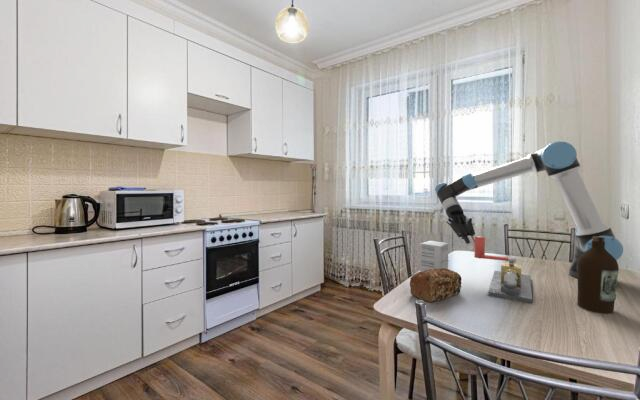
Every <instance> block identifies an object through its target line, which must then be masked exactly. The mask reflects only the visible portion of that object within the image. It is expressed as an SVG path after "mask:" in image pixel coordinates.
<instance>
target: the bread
mask: <svg viewBox="0 0 640 400" xmlns="http://www.w3.org/2000/svg"><path fill="white" fill-rule="evenodd" d="M409 287H410V295H411V296H413V297H414V296H415V298H417V297H418V298H417V299H419V298H421V299H420V300H422V301H424V302H427V303H434V302H435V301H442V300H444V299H449V298H451V297H454V296H456V295H459V294H460V293H461V290H462V289H461V288H462V276H461V274H460V273H458V272H456V271H454V270H451V269H449V268H448V269H445V268H443V269H437V268H436V269H435V268H434V269H429V270H425V271H423V272H420V271H418V272H416V273H415V274H412V275H411V276H410V281H409Z"/></svg>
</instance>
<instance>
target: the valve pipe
mask: <svg viewBox="0 0 640 400" xmlns="http://www.w3.org/2000/svg"><path fill="white" fill-rule="evenodd" d="M500 266H501V267H500V271H499V270H494V272H493V276H492V279H491V281H490V285H489V289H488V293H487V295H488V296H489V297H495V298H502V299H507V300H512V301H517V302H524V303H529V304H532V303H533V294H532V293H533V292H532V283H531V282H532V281H531V275H530V274H523V273H522V264H518V263H517V261H516V262H510V261H506V262H504V261H503V262H501V265H500Z"/></svg>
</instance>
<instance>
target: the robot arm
mask: <svg viewBox="0 0 640 400" xmlns="http://www.w3.org/2000/svg"><path fill="white" fill-rule="evenodd" d="M577 156H578V155H577V149H576V148H575V147H574V145H572V144H571V143H569V142H566V141H554V142H550V143H549V144H547V145H545V146H544V147H543V148H541V149H540V150H537V151H535V152H532V153H529V154H528V155H527V156H526V157H523V158H520V159H517V160H514V161H511V162H508V163H504V164H502V165H499V166H495V167H491V168H488V169H485V170H483V171H479V172H477V173H473V174H472V173H471V172H466V173H465V174H463V175H461V176H460V177H458V178H456V179H455V180H453V181H452V182H449V183H448V182H446V181H443V182H440V183H437V184H436V185H435V188H434V191H435V193H436V196H437V198H438V200H439V202H440V204H441V206H442V207H443V209H444V211H445V215H446V217H448V219H447V220H446V224H448V225H449V226H450V228H451V229H452V230H453V232H454V233H455V234H456V235H457V237H458V238H461V240H464V242H465V244H466V245H467V246H468V248H469V250H470V251H471V252H475V234H476V232H475V229H474V224H473V219H472V218H471V217H469V218H468V217H467V216H466V215H465V214H464V210H463V207H462V206H461V204H460V203H459V201H458V199H457V197H459V196H460V195H462V194H464V193H465V192H468V191H472V190H476V189H478V188H481V187H484V186H485V187H486V186H489V185H492V184H494V183H498V182H501V181H505V180H509V179H511V178H512V179H513V178H515V177H519V176H522V175H525V174H528V173H532V172H533V173H540V172H543V171H546V174H547V176H548V177H549V178H552V179H554V181H555V183H556V185H557V187H558V190H559V192H560V194H561V196H562V198H563V201H564V202H565V205H566V207H567V209H568V211H569V213H570V215H571V217H572V219H573V221H574V224H575V226H576V228H575V231H574V251H573V254H574V255H573V260H572V262H571V264H570V266H569V268H568V275H569V276H571V277H574V278H577V279H578V275H577V261H578V258H579V256H580V255H581V254H583V253H584V252H586V251H587V250H588V249H590V248H591V247H592V240H593V239H592V237H593V236H598V237H604V238H605V240H604V241H605V249H606V250H607V251H608V252H609V253H610V254H611V255H612V256H613V257H614V258H615V259H616V261H618V260H619V259H621V257H622V256H623V253H624V247H623V245H622V243H621V242H620V240H619V239H617V238H616V236H615V234H614V232H613V230H612V228H611V227H610V225H607V224H606V223H604V222H603V220H602V218H601V216H600V214H599V212H598V210H597V208H596V206H595V204H594V202H593V200H592V197H591V195H590V193H589V191H588V189H587V187H586V185H585V183H584V181H583V178H582V177H581V175H580V173H579V170H580V168H581V165H580V162H579V160H578V158H577Z"/></svg>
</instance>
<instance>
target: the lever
mask: <svg viewBox="0 0 640 400" xmlns="http://www.w3.org/2000/svg"><path fill="white" fill-rule="evenodd" d="M474 240H475V250H474V251H473V253H474V254H473V255H474V258H476V259H484V260H486V259H487V260H494V261H503V262H504V261H505V262H509V261H510V262H516V263H517V258H516V257H511V256H510V257H509V256H498V255H488V254H486V237H485V236H481V235H480V236H478V235H477V236H475V235H474Z"/></svg>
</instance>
